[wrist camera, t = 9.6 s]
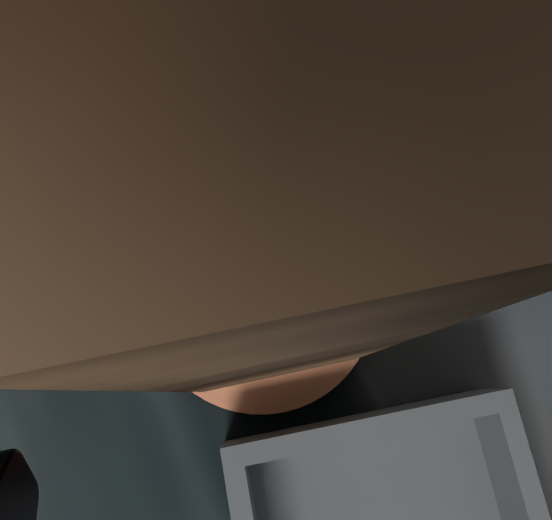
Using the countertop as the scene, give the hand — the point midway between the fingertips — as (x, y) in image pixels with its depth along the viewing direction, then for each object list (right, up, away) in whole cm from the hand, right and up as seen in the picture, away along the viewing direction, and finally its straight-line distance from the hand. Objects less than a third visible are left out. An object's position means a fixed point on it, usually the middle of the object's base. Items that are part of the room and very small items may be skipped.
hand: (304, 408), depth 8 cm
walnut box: (-1, +1, +9) cm, 9 cm away
